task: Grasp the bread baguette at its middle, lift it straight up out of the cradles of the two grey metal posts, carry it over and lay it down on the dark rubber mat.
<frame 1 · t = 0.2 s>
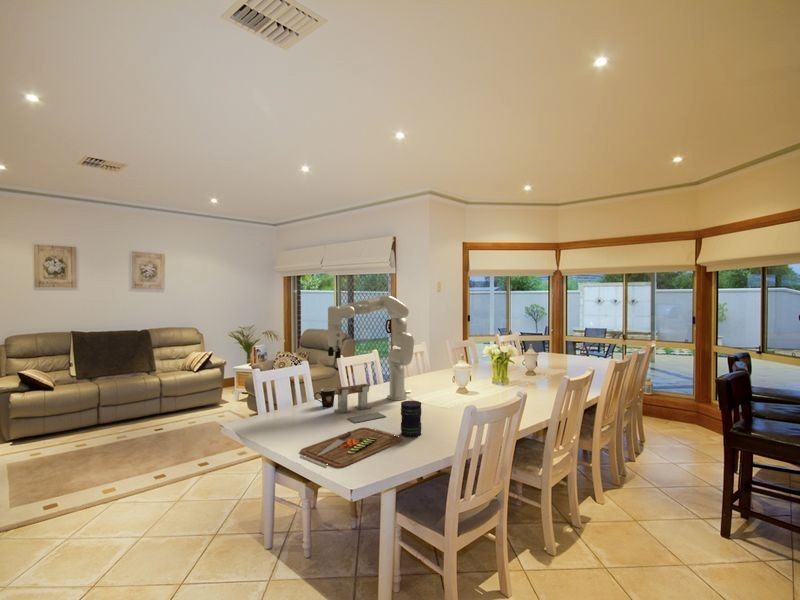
hand: (334, 357, 237), 30 cm above the table, fingers open, 9 cm apart
post near: (342, 411, 233), on the table
bread baguette: (352, 392, 236), point 10 cm above the table, touching post far, post near
coffee mug: (325, 406, 244), on the table
post far: (362, 408, 240), on the table
mat: (366, 418, 221), on the table
chopping board: (353, 447, 180), on the table
storage jar: (411, 434, 195), on the table
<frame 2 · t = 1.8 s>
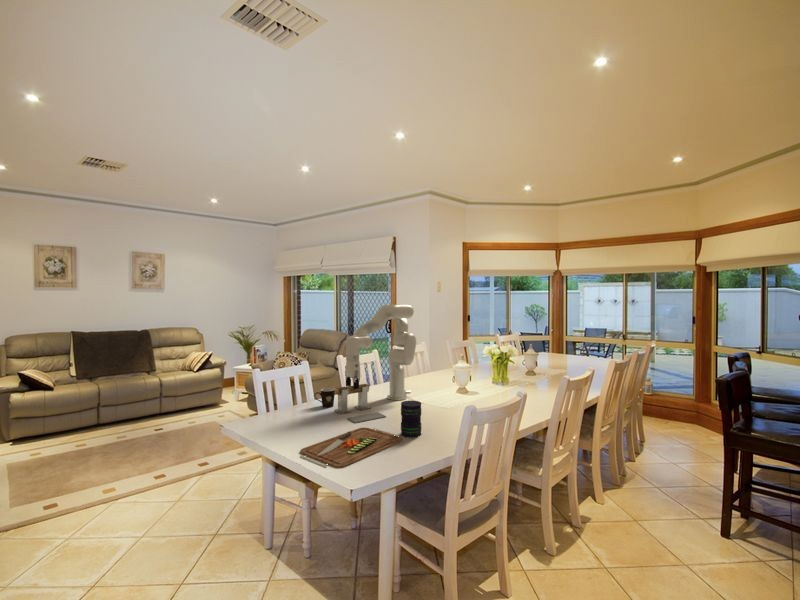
hand: (352, 387, 236), 13 cm above the table, fingers open, 9 cm apart
nothing on the table moved.
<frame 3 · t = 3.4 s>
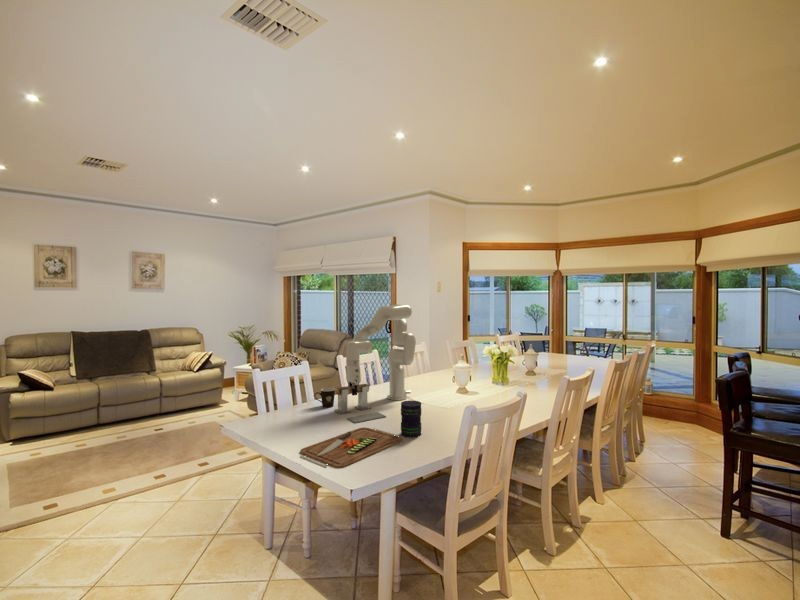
hand: (352, 394, 236), 9 cm above the table, fingers closed on bread baguette, 3 cm apart
bread baguette: (352, 392, 236), point 10 cm above the table, touching gripper, post far, post near
everything else where it was.
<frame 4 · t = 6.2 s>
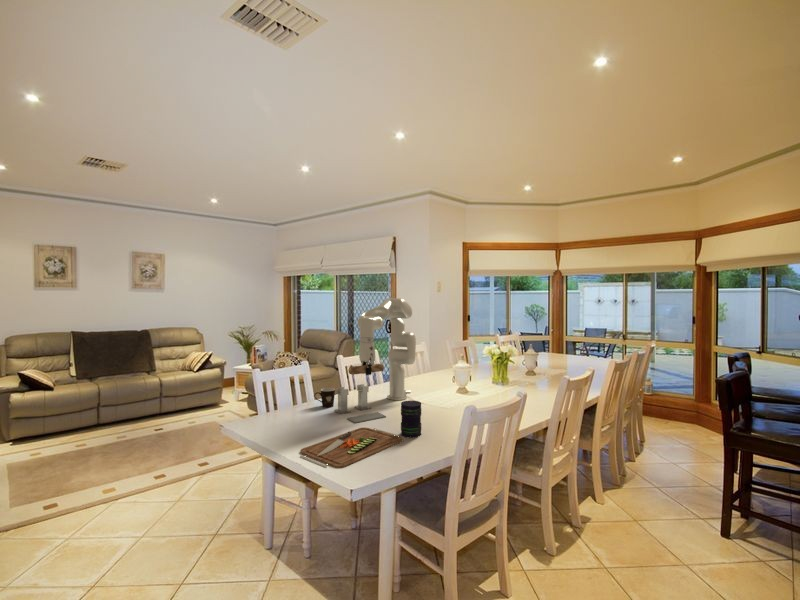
hand: (366, 373, 220), 24 cm above the table, fingers closed on bread baguette, 3 cm apart
bread baguette: (366, 372, 220), point 25 cm above the table, touching gripper
everything else where it was.
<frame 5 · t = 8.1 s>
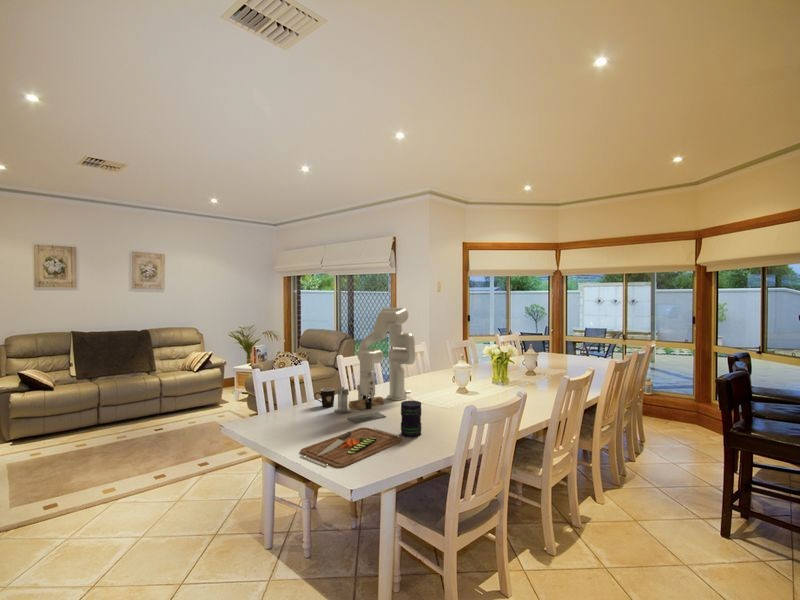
hand: (366, 407, 221), 6 cm above the table, fingers closed on bread baguette, 3 cm apart
bread baguette: (366, 406, 220), point 6 cm above the table, touching gripper
everything else where it was.
when the fingers open (1 cm above the table, at t = 9.4 s): bread baguette drops 2 cm, resting on mat.
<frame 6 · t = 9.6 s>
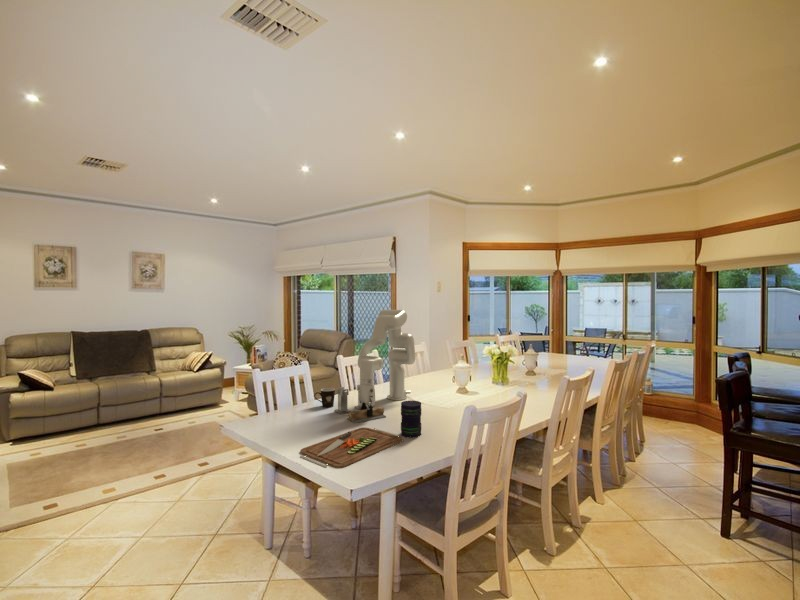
hand: (366, 414, 221), 2 cm above the table, fingers open, 5 cm apart
bread baguette: (366, 416, 221), point 1 cm above the table, touching mat
everything else where it was.
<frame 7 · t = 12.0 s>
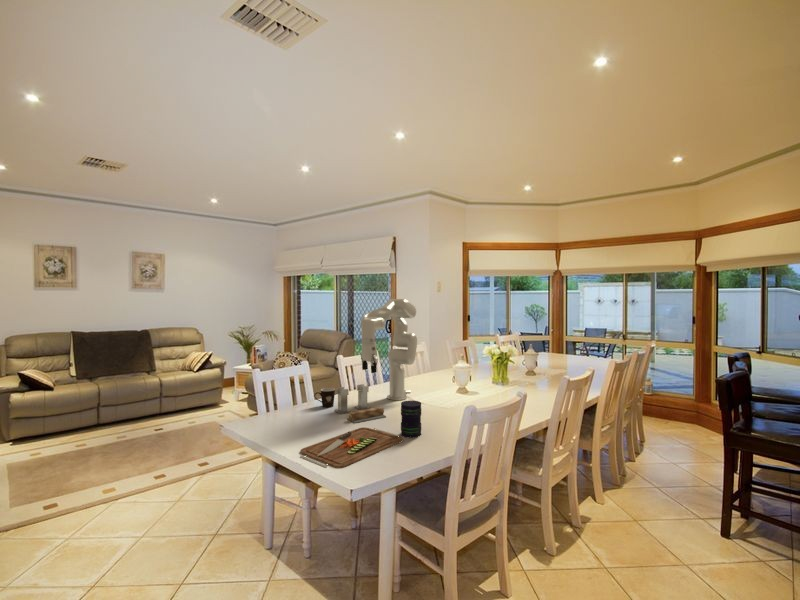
hand: (369, 371, 229), 24 cm above the table, fingers open, 9 cm apart
nothing on the table moved.
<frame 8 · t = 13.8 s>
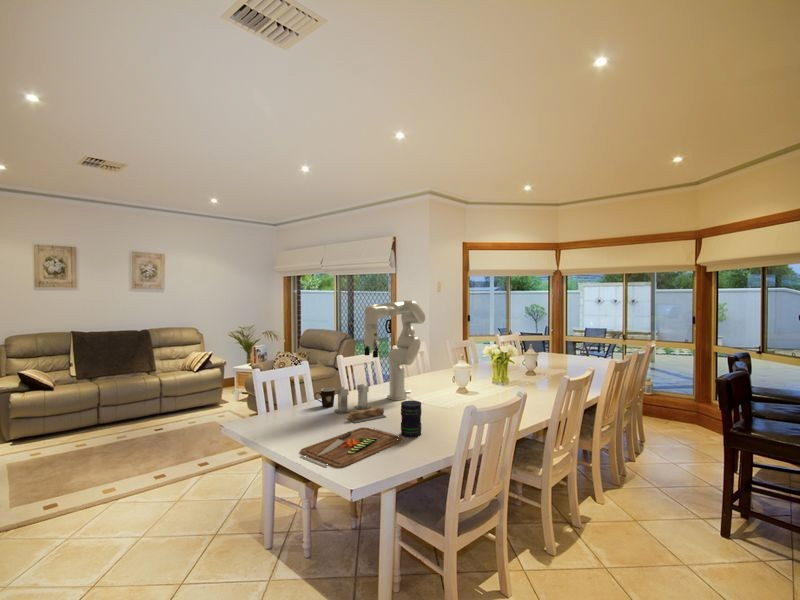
hand: (371, 356, 240), 30 cm above the table, fingers open, 9 cm apart
nothing on the table moved.
at the end: bread baguette inside the target area on the mat (0.1 cm from its centre), point 0.6 cm above the mat's base; the gripper is holding nothing; bread baguette touching mat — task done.
